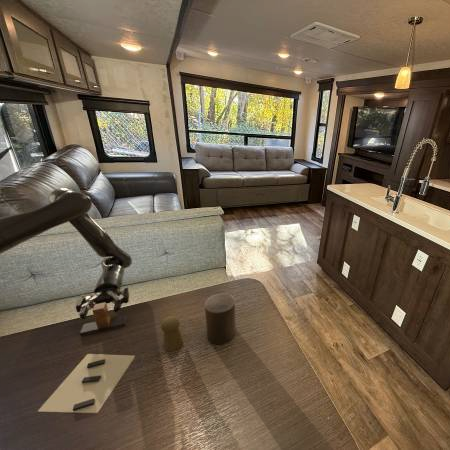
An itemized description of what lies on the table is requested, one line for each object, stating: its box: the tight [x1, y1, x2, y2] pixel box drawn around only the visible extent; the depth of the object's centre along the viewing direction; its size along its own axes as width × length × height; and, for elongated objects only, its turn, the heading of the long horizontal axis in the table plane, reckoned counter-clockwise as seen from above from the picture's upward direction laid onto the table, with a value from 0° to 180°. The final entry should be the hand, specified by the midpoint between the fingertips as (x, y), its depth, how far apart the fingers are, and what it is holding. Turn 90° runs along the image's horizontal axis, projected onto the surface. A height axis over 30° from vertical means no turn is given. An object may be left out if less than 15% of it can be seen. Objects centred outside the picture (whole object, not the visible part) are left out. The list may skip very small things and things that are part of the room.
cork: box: [160, 315, 185, 353], centre depth 78 cm, size 6×6×11 cm
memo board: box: [37, 353, 136, 414], centre depth 67 cm, size 14×16×1 cm
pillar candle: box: [204, 293, 237, 345], centre depth 84 cm, size 10×10×15 cm
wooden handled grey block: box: [79, 302, 128, 337], centre depth 82 cm, size 12×4×10 cm, turn 116°
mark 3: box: [73, 398, 95, 411], centre depth 61 cm, size 4×1×1 cm, turn 116°
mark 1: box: [87, 359, 105, 369], centre depth 71 cm, size 4×1×1 cm, turn 116°
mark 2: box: [82, 375, 101, 383], centre depth 67 cm, size 4×1×1 cm, turn 102°
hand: (99, 313), depth 80 cm, fingers open, 8 cm apart
